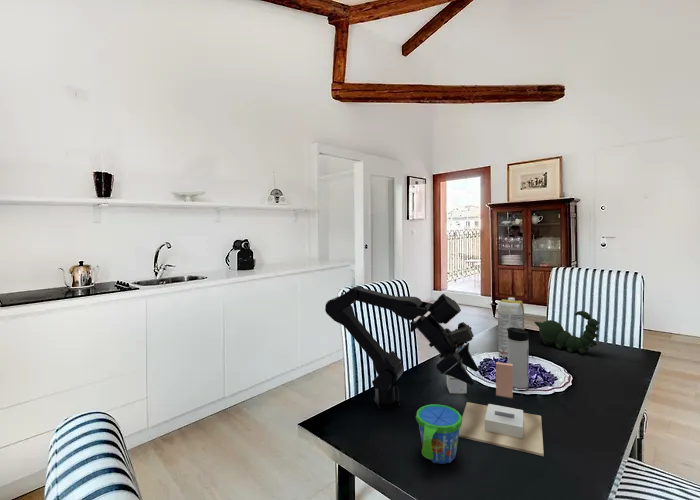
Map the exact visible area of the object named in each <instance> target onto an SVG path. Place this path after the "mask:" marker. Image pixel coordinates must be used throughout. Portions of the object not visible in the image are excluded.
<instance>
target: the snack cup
mask: <svg viewBox="0 0 700 500" xmlns="http://www.w3.org/2000/svg"><path fill="white" fill-rule="evenodd" d="M462 416H463V415H462V414H460V412H459V411H458V410H456V409H455V408H454V407H451V406H449V405H445V404H436V403H435V404H434V403H433V404H432V403H431V404H426V405H424V406H420V408H419V409H417V411H416V415H415V419H416V422H417V424H418V428H419V433H420V439H421V445H422V447H421V454H422V456H423V457H424V458H425V459H428V460H429V461H431V462H432V463H434V464H441V465H442V464H450V463H452V462H453V460H455V458H456V454H457V451H458V442H459V438H460V437H459V429H460V427H461V424H462Z"/></svg>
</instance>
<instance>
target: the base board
mask: <svg viewBox="0 0 700 500" xmlns="http://www.w3.org/2000/svg"><path fill="white" fill-rule="evenodd" d="M487 407H488V405H485V404H479V403H473V402H468V401H467V402H466V404H465V407H464V410H463V414H462V415H461V416H462V424H461V427H460V429H459V437H458V438H463V439H467V440H470V441H471V440H472V441H475V442H480V443H485V444H488V445H493V446H497V447H501V448H506V449H509V450H515V451H518V452H523V453H527V454H533V455H536V456H541V457H545V456H544V439H543V437H544V436H543V426H542V423H543V422H542V416H541V415H538V414H532V413H527V412H523V439H522V438H517V437H512V436H508V435H503V434H498V433H494V432H489V431H485V417H486V412H487Z"/></svg>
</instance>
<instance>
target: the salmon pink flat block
mask: <svg viewBox="0 0 700 500" xmlns="http://www.w3.org/2000/svg"><path fill="white" fill-rule="evenodd" d="M513 391H514V390H513V364H508V362H507V363H506V362H500V361H496V362H495V397H501V398H508V399H513V398H514V396H513V393H514V392H513Z"/></svg>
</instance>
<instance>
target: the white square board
mask: <svg viewBox="0 0 700 500" xmlns="http://www.w3.org/2000/svg"><path fill="white" fill-rule="evenodd" d="M487 406H488V407H487V412H486V417H485V431H489V432H494V433H498V434H503V435H508V436H512V437H517V438H522V439H523V413H524V410H523V409H518V408H514V407H509V406H502V405H497V404H492V403H487Z"/></svg>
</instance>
